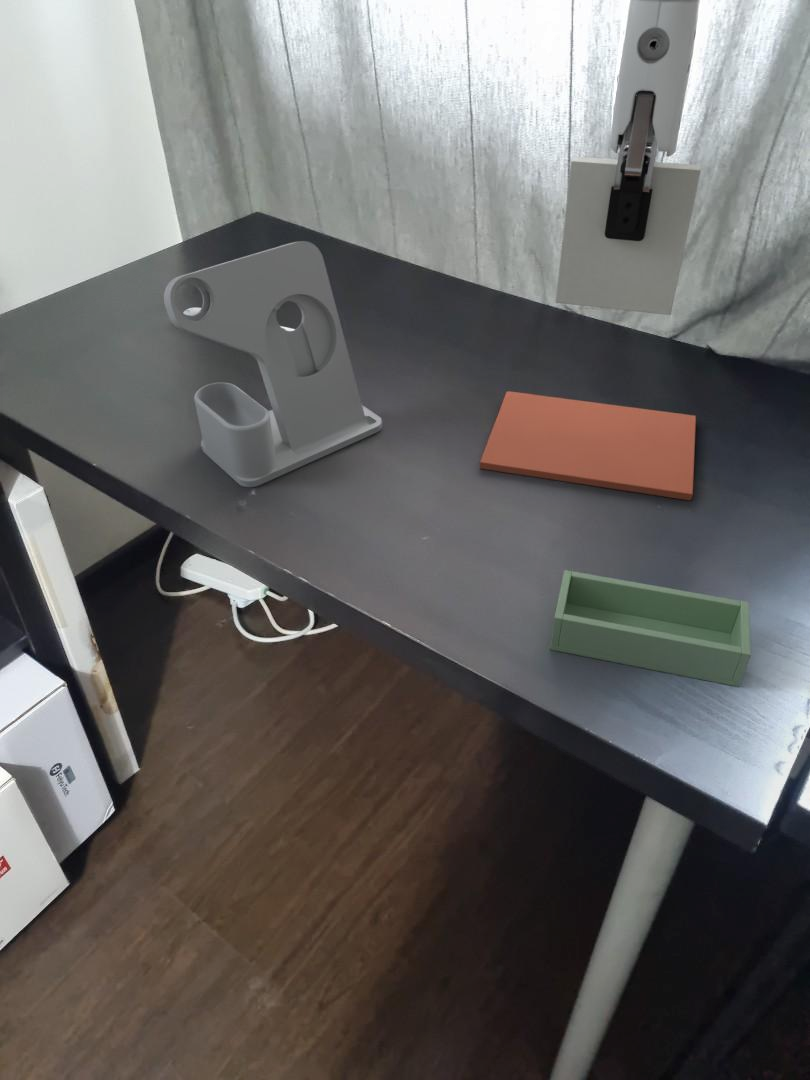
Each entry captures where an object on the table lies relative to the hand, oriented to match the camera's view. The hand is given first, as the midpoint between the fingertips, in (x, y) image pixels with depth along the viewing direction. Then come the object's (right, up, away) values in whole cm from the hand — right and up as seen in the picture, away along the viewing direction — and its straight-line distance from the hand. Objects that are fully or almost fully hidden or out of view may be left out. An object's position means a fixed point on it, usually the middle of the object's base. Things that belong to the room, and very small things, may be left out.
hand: (625, 232), depth 69 cm
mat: (0, -16, +15) cm, 22 cm away
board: (0, -5, +4) cm, 7 cm away
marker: (-39, 0, +35) cm, 52 cm away
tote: (0, -34, -6) cm, 34 cm away
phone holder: (-30, -15, +17) cm, 38 cm away
